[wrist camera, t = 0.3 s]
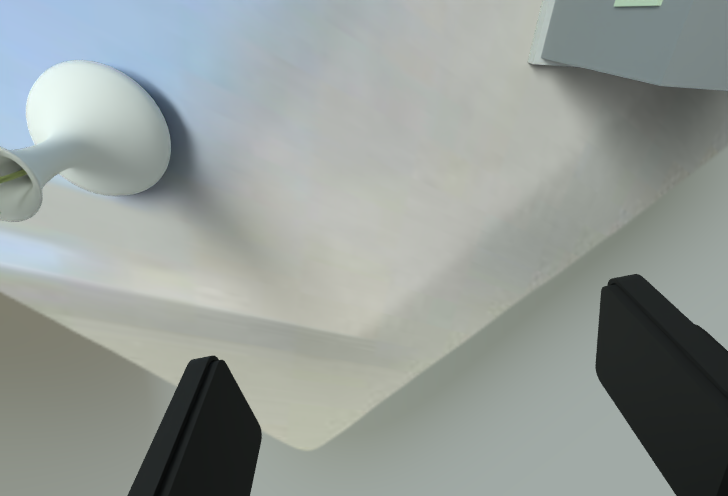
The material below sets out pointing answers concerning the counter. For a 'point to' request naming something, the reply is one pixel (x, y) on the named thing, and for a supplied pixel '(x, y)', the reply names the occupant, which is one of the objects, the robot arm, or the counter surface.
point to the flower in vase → (85, 138)
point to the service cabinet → (638, 39)
